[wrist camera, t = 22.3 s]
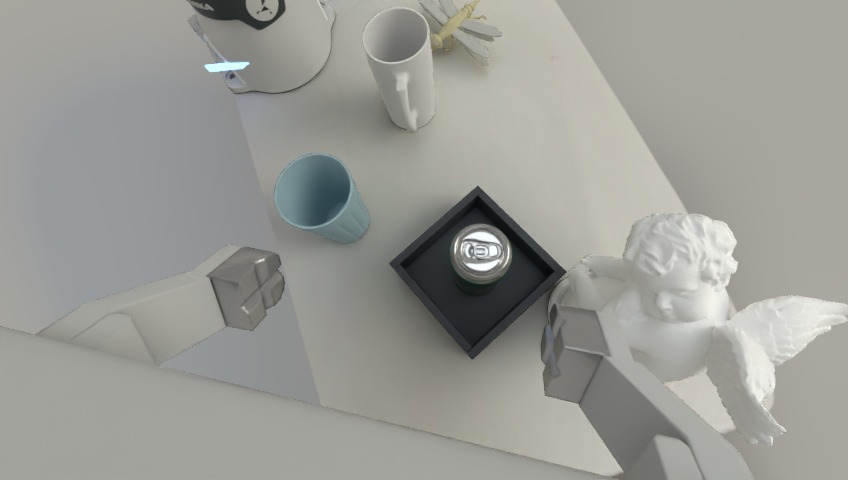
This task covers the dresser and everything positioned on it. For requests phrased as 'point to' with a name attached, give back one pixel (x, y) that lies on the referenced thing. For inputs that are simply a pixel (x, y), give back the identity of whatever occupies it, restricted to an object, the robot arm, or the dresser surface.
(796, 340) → the cherub figurine
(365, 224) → the cup
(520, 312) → the bin
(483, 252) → the soda can
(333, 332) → the dresser surface
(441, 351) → the dresser surface
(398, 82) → the mug
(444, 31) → the toy
